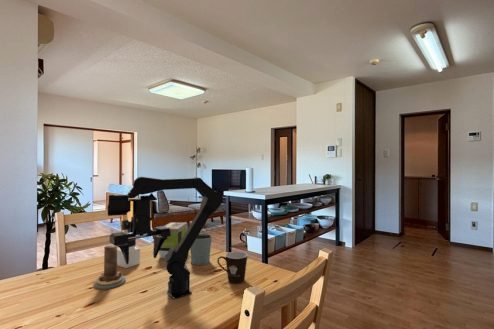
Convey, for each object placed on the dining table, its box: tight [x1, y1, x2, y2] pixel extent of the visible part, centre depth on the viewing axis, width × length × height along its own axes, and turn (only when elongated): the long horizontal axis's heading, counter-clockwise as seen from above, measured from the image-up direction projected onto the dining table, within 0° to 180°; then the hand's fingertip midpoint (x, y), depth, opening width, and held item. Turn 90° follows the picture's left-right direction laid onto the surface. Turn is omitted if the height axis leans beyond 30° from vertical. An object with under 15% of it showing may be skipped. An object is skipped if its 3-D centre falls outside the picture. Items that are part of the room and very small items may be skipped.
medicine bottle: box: [117, 239, 141, 269], centre depth 126 cm, size 7×7×12 cm
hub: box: [96, 274, 124, 286], centre depth 106 cm, size 9×9×1 cm
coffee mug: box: [216, 251, 248, 285], centre depth 110 cm, size 12×9×10 cm
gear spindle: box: [98, 244, 122, 282], centre depth 106 cm, size 8×7×12 cm
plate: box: [93, 275, 127, 290], centre depth 106 cm, size 11×11×1 cm
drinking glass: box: [189, 233, 213, 266], centre depth 130 cm, size 10×10×12 cm
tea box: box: [158, 222, 188, 259], centre depth 142 cm, size 15×10×15 cm
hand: (141, 260), depth 93 cm, fingers open, 9 cm apart
